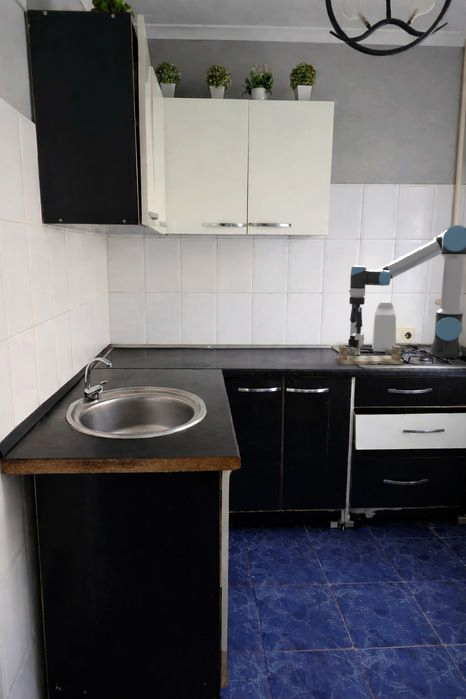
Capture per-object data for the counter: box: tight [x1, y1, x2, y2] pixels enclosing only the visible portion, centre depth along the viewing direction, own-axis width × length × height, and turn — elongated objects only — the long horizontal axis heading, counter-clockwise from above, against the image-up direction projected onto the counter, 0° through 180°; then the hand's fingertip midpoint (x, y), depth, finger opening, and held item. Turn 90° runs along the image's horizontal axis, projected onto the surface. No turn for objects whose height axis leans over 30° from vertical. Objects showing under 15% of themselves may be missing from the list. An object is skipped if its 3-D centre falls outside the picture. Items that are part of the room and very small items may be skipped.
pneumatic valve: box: [347, 332, 365, 356], centre depth 267 cm, size 6×12×12 cm, turn 150°
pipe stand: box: [336, 344, 404, 365], centre depth 253 cm, size 30×12×8 cm, turn 87°
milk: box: [371, 301, 397, 353], centre depth 278 cm, size 12×12×26 cm
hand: (355, 337), depth 266 cm, fingers open, 13 cm apart
